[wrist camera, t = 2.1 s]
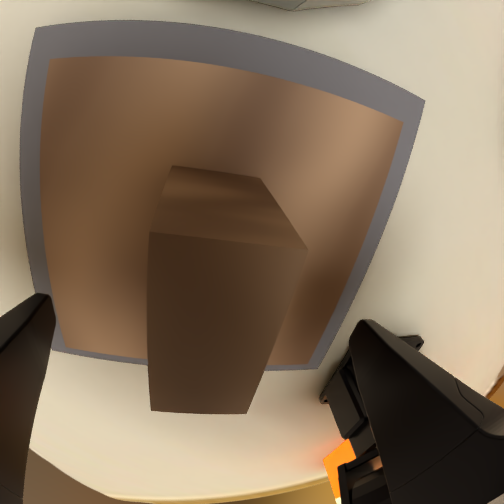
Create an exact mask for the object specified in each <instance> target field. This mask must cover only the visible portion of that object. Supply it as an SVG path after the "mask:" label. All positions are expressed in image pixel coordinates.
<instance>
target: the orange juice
mask: <svg viewBox="0 0 504 504" xmlns="http://www.w3.org/2000/svg"><path fill="white" fill-rule="evenodd" d="M354 459H356V457H355V454H354V452H353V449H352V447H351V444H350V442H349V439H347V440H346V441H345V442H343V443H342V444H341V445H340V446H339V447H338V448H337V449H335V450H334V451H333V452H332V453H331V454H329V455H328V456H327V457H326V458H325V459H323V462H324V465H325V468H326V471H327V474H328V477H329V480H330V483H331V486H332V489H333V492H334V495H335V498H336V499H335V500H336V503H337V504H341V498H340V490H339V483H338V471H337V466H339V465H341V464H343V463H348V462H350V461H352V460H354Z"/></svg>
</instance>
